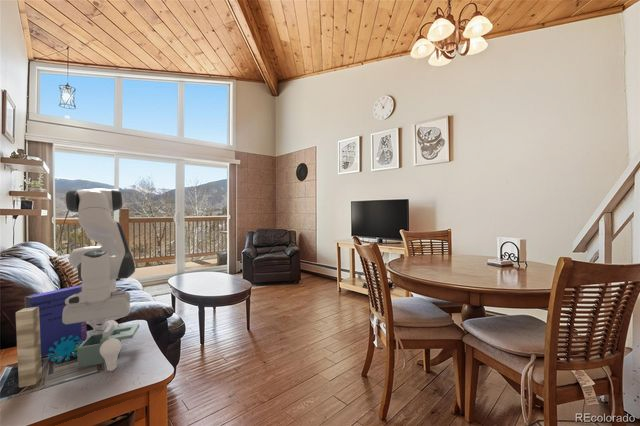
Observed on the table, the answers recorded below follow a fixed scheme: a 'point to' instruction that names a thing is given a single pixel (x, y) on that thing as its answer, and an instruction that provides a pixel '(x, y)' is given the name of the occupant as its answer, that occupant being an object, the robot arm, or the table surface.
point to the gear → (64, 349)
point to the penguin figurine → (110, 324)
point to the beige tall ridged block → (28, 346)
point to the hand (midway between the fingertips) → (99, 330)
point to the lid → (111, 330)
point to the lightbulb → (110, 352)
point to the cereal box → (55, 318)
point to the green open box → (91, 351)
